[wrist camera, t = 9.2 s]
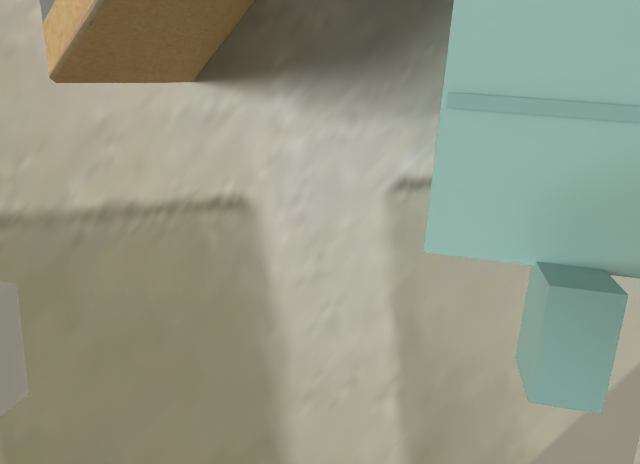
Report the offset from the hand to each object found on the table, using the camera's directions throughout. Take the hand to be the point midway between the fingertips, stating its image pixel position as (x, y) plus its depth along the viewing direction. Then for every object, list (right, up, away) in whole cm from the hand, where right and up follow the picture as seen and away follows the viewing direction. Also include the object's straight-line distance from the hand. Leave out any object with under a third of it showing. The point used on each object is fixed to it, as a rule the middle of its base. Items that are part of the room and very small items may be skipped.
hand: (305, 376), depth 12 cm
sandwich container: (-11, +21, +26) cm, 35 cm away
